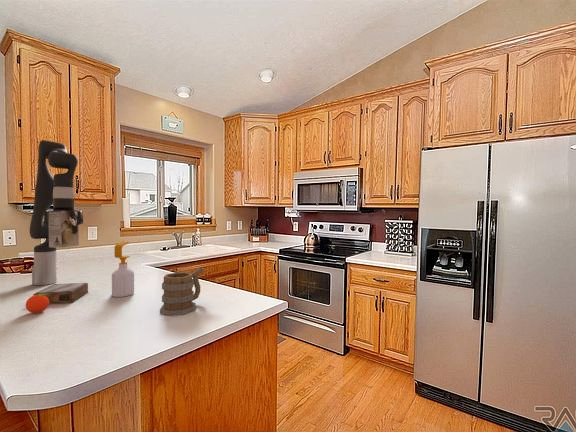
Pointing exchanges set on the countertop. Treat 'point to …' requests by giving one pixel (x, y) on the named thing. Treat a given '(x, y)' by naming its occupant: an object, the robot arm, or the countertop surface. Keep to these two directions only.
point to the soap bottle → (122, 275)
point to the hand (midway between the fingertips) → (64, 234)
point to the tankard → (180, 292)
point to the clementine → (37, 303)
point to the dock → (64, 292)
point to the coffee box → (61, 229)
